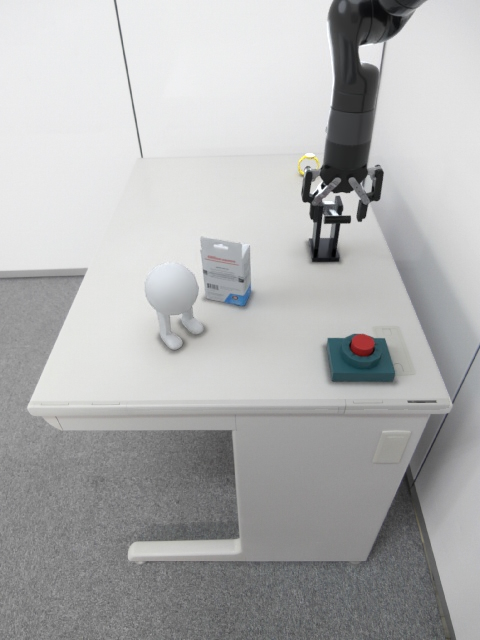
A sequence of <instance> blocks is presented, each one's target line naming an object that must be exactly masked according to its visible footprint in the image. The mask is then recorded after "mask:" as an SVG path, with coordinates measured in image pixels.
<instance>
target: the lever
mask: <svg viewBox="0 0 480 640" xmlns="http://www.w3.org/2000/svg"><path fill="white" fill-rule="evenodd" d="M322 201H323V200H322ZM334 202H335V201H332V200H331V201H329V200H327V201H326V200H324V201H323V205H324V208H323V219H322V222H323V224H324V225H332V224H340V225H343V224H345V225H347V224H348V225H350V224H351V223H352V216H351V214H342V215H338V214H337V212H336V211H335V203H334Z"/></svg>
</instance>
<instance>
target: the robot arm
mask: <svg viewBox="0 0 480 640" xmlns="http://www.w3.org/2000/svg"><path fill="white" fill-rule="evenodd" d="M427 1H428V0H332V1H331V3H330V6H329V9H328V13H327V17H326V32H327V40H328V45H329V52H330V59H331V60H330V63H331V70H332V89H331V97H330V106H329V112H328V116H327V122H326V127H325V141H324V149H323V159H322V165H321V167H319V169H317V168H312V166H310V165H306V166H304V170H303V172H304V175H302V176H303V177H302V184H301V192H300V194H301V195H300V196H301V201H302V203H305V204H307V203H308V204H309V214H308V215H309V218H310V220H311V221H312V222H313V224H314V223H316V222H317V219H318V209H319V204H318V203H319V202H320V201H321V200H322V201H323V199H325V198H326V197H328V195H329V194H331V193H332V194H340V193H344V194H351V192H353V191H354V192H355V193H356V195H357V197H359V199H358V204H357V210H356V216H355V217H356V220H357V222H358V223H362V222H363V220H365V219H366V218H367V214H368V209H369V204H370V203H372V202H379V201H380V200H381V196H382V190H383V182H384V175H385V172H384V170H383V168H382V165H380V164H376V165H374V167H373V166H371V167H368V165H367V164H368V159H369V154H370V153H369V152H370V149H371V142H372V137H373V130H374V125H375V111H376V110H375V109H376V103H377V98H378V91H379V85H380V75H381V73H380V69H379V67H378V66H377V65H376V64H374V63H370V62H367V61H361V58H360V47H366V46H372V45H380V44H382V43H383V44H384V43H385V42H388V41H389V40H392V39H393V38H395V37H396V36H397V35H398V34H400V32H401V31H402V30H403V29H404V27H405V26H406V24H407V23H408V22H409V21H410V19H411V18H412V16H413V15H414V14H415V12H416V10H418V8H420V7H421V6H422V5H424V4H425V3H426V2H427ZM368 176H369V178H370V181H371V188H370V192H366V190H365V189H364V187H363V185H362V182H364V180H365V179H366V178H367V177H368ZM318 177H319V178H320V179H321V180H322V181H320V183H319V184H318V185H317V187H316V189H315V190H314V191H313V192H312V193H311V188H312V183H313V182H315V181H316V179H317V178H318Z"/></svg>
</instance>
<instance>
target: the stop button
mask: <svg viewBox="0 0 480 640" xmlns="http://www.w3.org/2000/svg"><path fill="white" fill-rule="evenodd" d="M357 334H358V335H356V336H354V337H353V339H352V343H351V351H352V352H353V353H354V354H355V355H358V356H360V357H367V356H369V355H371V354H372V352H373V348H374V340H373V339H372V338H371V337H372V336H371V335H368V334H366V335H364V334H365V333H357ZM370 336H371V337H370Z"/></svg>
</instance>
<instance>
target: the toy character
mask: <svg viewBox="0 0 480 640" xmlns="http://www.w3.org/2000/svg"><path fill="white" fill-rule="evenodd" d="M199 289H200V287H199V283H198V281H197V277H196V275H195V273H194V272H193V271H192V270H190V269H189V267H187V266H186V265H185V264H183V263H180V262H177V261H167V262H164V263H161V264H157V265H156V266H155V267H153V268H152V269H151V270H150V271H149V272H148V274H147V276H146V278H145V281H144V295H145V297H146V300H147V303H148V304H149V305H150V306H151V307H152V309H153V310H155V312H156V316H157V320H158V325H159V326H158V327H159V336H160V339H161V340H162V341H163V343H164V344H165V345H166V346H167V347H168V348H169V349H170V350H172V351H176V350H179V349H181V348H182V346H183V344H184V343H183V340H182V337H179V336H178V335H177V334H176V333H174V331H172V325H171V323H172V322H171V317H170V316H180V315H181V323H182V325H183V326H184V327H185V328H186V329H187V331H188V332H189V333H191V334H192V335H200V334H201V333H203V332H204V329H205V328H204V324H203V323H202V322H201V321H199V320H198V319H197V318H195V316H194V308H193V306H194V305H195V304H196V302H197V299H198V296H199V291H200V290H199Z"/></svg>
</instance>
